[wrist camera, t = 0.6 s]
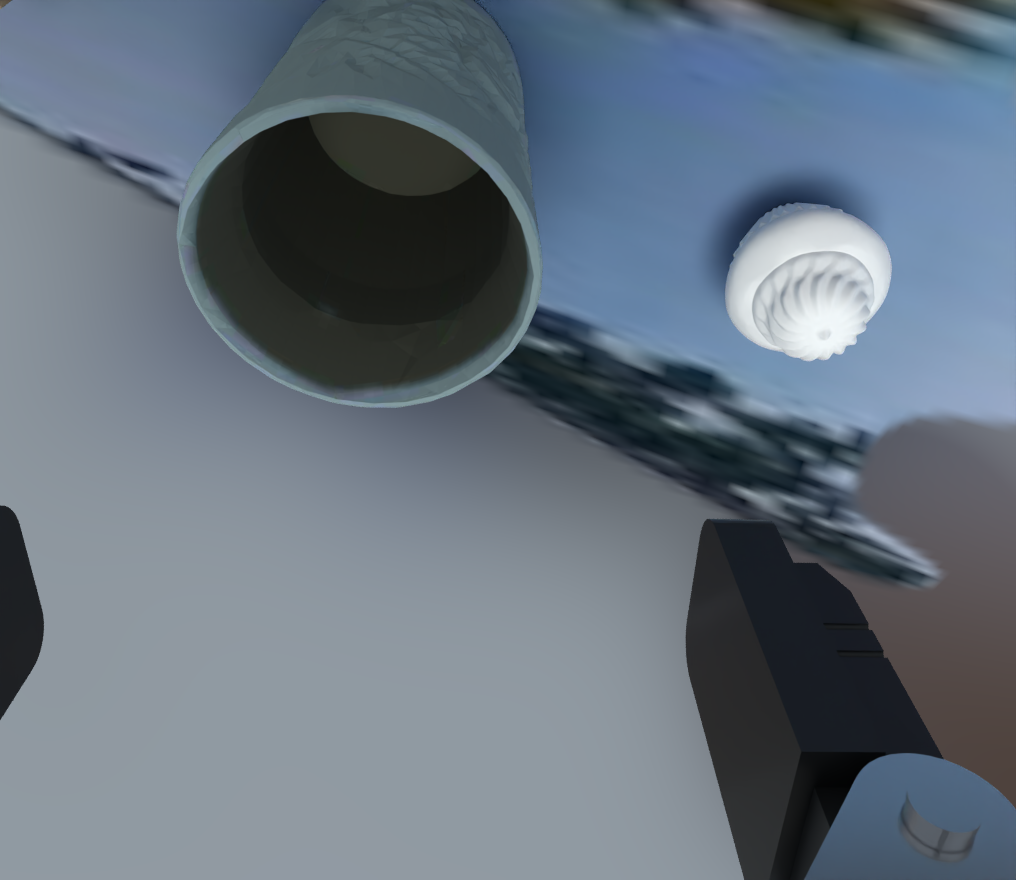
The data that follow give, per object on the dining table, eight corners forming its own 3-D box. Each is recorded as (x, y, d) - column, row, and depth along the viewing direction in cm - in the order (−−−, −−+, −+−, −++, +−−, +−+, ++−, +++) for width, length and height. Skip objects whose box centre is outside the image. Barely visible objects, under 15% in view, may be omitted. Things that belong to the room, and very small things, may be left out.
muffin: (740, 320, 41) (768, 425, 36) (690, 209, 37) (713, 308, 32) (883, 264, 39) (935, 368, 33) (844, 140, 35) (895, 235, 30)
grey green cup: (564, -23, 31) (571, 128, 23) (522, 237, 38) (515, 430, 29) (263, -69, 31) (150, 69, 22) (275, 204, 38) (193, 393, 29)
